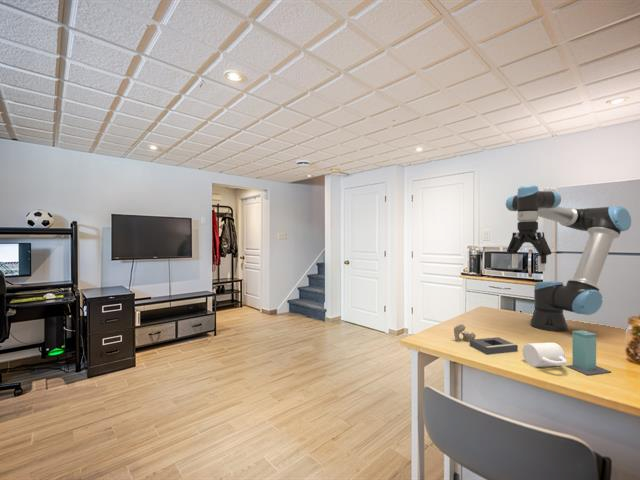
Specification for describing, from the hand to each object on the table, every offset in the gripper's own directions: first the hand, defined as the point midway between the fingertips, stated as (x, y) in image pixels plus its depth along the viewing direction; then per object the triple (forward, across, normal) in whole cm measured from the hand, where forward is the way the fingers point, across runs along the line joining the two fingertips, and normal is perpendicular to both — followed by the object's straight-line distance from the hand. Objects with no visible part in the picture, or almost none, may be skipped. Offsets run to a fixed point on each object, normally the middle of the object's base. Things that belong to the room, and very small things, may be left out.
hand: (527, 269), depth 135 cm
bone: (+32, -6, -27) cm, 42 cm away
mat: (+32, +27, -4) cm, 42 cm away
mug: (+32, +24, -16) cm, 43 cm away
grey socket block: (+32, +5, -22) cm, 39 cm away
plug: (+31, +27, -4) cm, 42 cm away
